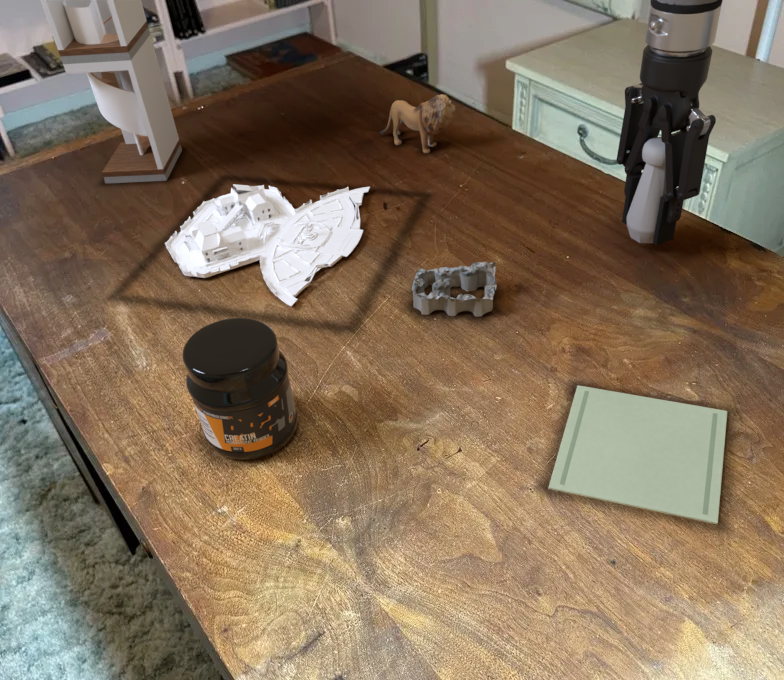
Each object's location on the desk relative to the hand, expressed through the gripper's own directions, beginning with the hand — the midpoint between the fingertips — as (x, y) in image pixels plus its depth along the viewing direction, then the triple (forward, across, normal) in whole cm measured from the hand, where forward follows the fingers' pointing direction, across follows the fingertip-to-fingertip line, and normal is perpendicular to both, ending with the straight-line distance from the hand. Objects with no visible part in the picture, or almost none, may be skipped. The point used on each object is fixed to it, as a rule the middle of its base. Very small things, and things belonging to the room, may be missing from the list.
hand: (647, 230), depth 103 cm
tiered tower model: (+1, -65, -55) cm, 86 cm away
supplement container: (+2, +8, -59) cm, 60 cm away
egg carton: (+3, -2, -28) cm, 29 cm away
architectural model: (+2, -28, -43) cm, 52 cm away
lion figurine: (+2, -46, -11) cm, 48 cm away
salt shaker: (+1, 0, 0) cm, 1 cm away
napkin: (+3, +31, -24) cm, 39 cm away
